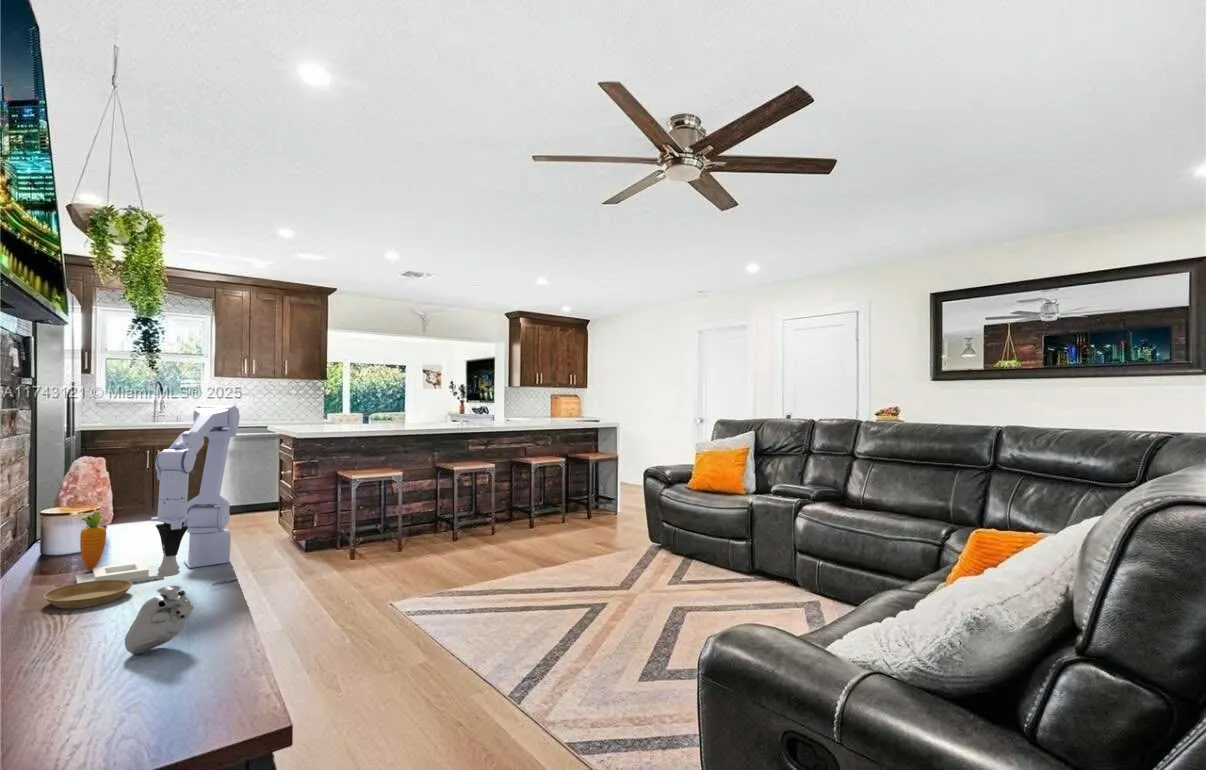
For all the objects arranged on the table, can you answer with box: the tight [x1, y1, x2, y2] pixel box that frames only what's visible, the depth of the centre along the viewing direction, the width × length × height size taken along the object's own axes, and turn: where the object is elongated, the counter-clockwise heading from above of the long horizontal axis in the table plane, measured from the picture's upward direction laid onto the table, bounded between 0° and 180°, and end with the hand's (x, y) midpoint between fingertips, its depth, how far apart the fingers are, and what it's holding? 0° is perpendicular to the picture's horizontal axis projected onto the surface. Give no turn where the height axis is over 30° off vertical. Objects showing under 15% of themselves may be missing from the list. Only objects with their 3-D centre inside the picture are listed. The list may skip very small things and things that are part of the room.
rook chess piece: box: [157, 544, 180, 578], centre depth 139 cm, size 4×4×8 cm
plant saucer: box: [43, 580, 133, 609], centre depth 127 cm, size 15×15×3 cm
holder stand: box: [75, 560, 165, 584], centre depth 142 cm, size 16×12×2 cm
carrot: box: [79, 511, 107, 572], centre depth 148 cm, size 5×5×15 cm
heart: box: [124, 585, 195, 655], centre depth 103 cm, size 10×10×12 cm
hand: (170, 554), depth 139 cm, fingers closed on rook chess piece, 3 cm apart
